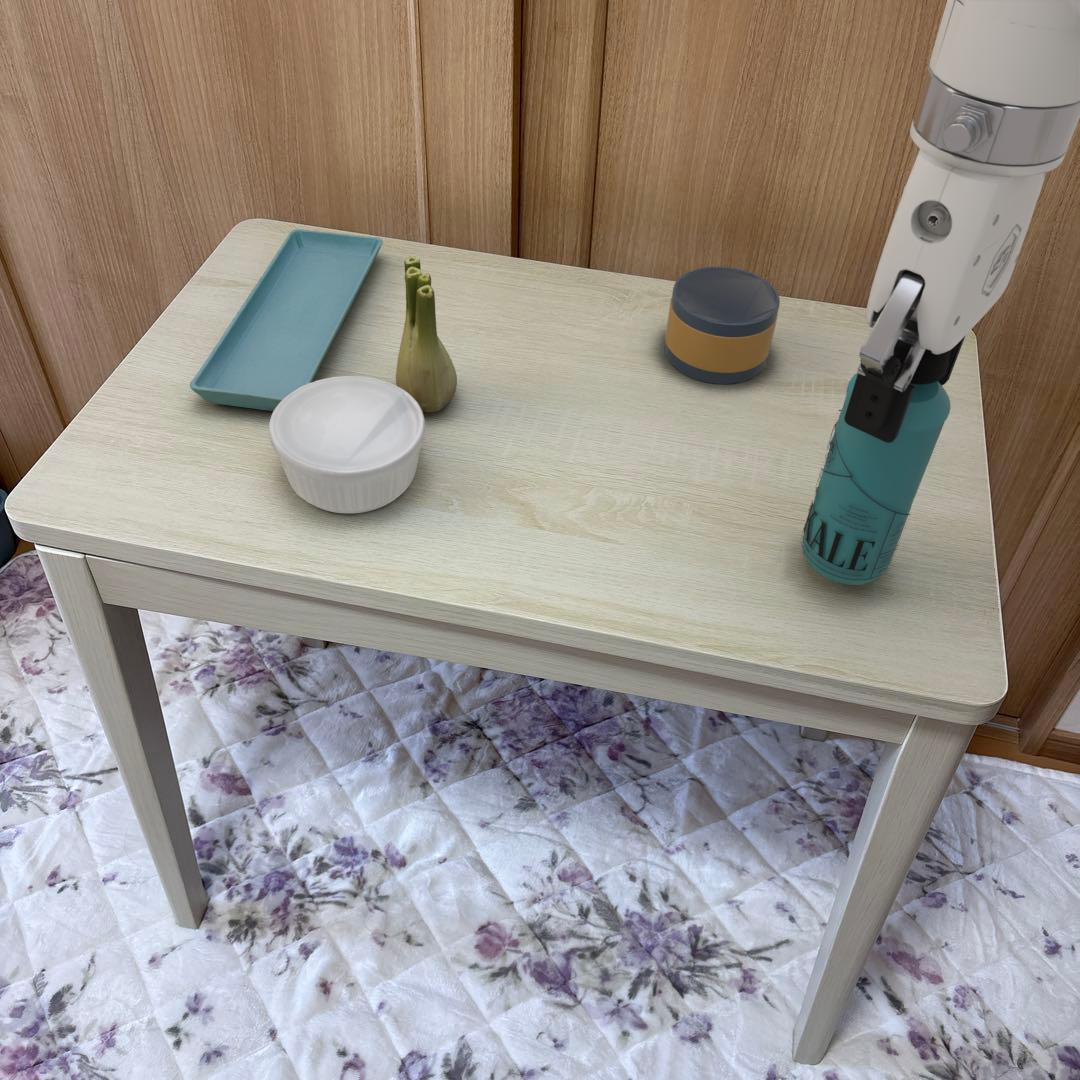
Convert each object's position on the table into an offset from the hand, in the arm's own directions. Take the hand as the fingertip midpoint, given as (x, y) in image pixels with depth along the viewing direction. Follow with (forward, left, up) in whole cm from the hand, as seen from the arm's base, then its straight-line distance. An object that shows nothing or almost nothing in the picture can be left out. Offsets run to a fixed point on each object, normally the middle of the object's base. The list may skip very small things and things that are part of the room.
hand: (897, 400), depth 65 cm
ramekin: (+30, -21, -15) cm, 40 cm away
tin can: (-4, -26, -15) cm, 30 cm away
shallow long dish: (+30, -41, -15) cm, 53 cm away
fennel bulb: (+22, -28, -15) cm, 39 cm away
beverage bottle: (0, 0, -15) cm, 15 cm away
